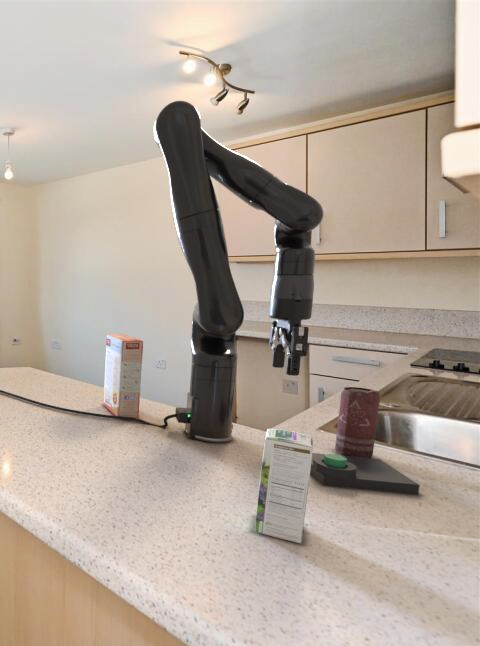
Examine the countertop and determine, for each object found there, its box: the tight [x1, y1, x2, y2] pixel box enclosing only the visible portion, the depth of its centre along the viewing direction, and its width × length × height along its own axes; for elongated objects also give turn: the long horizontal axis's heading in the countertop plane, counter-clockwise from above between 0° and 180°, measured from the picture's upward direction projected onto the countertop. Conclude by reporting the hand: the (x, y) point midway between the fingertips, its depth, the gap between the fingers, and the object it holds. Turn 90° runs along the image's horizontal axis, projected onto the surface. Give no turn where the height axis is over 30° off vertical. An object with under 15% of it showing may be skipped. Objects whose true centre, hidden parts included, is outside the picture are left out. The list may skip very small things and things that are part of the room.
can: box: [334, 386, 381, 458], centre depth 97 cm, size 6×6×14 cm
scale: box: [310, 452, 420, 496], centre depth 87 cm, size 15×13×4 cm
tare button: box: [324, 453, 347, 468], centre depth 85 cm, size 3×3×2 cm
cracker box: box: [102, 333, 144, 419], centre depth 128 cm, size 14×6×21 cm, turn 179°
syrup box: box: [254, 428, 314, 544], centre depth 68 cm, size 6×6×14 cm
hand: (284, 371), depth 101 cm, fingers open, 8 cm apart
